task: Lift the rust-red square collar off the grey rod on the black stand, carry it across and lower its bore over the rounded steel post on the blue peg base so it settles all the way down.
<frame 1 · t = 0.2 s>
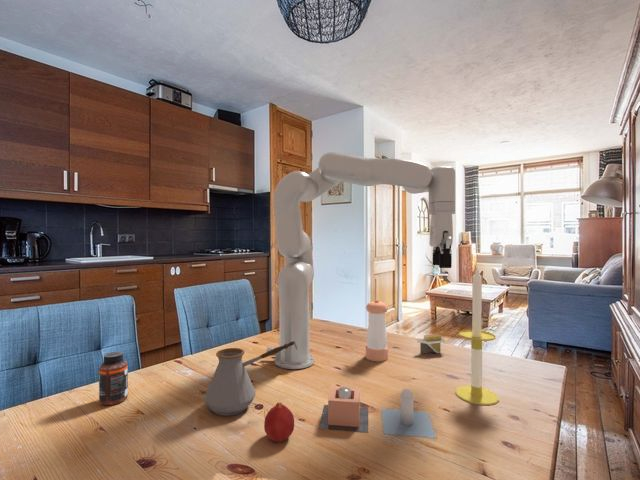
hand: (441, 266, 101), 31 cm above the table, tool pointing down, fingers open, 9 cm apart
coffee pot: (251, 407, 80), on the table
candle: (476, 396, 85), on the table
blue peg base: (406, 426, 71), on the table
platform: (432, 355, 117), on the table
salt shaker: (376, 358, 112), on the table
supplement bottle: (113, 401, 82), on the table
stand: (344, 422, 73), on the table
onion: (279, 443, 65), on the table
collar: (344, 417, 73), point 1 cm above the table, touching stand
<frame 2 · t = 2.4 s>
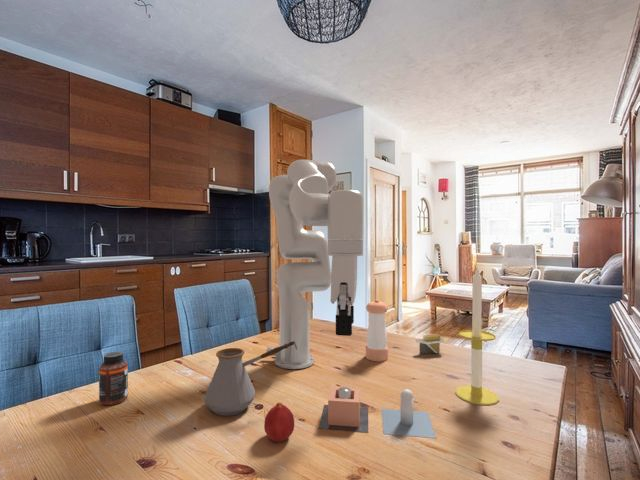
hand: (345, 328, 73), 20 cm above the table, tool pointing down, fingers open, 9 cm apart
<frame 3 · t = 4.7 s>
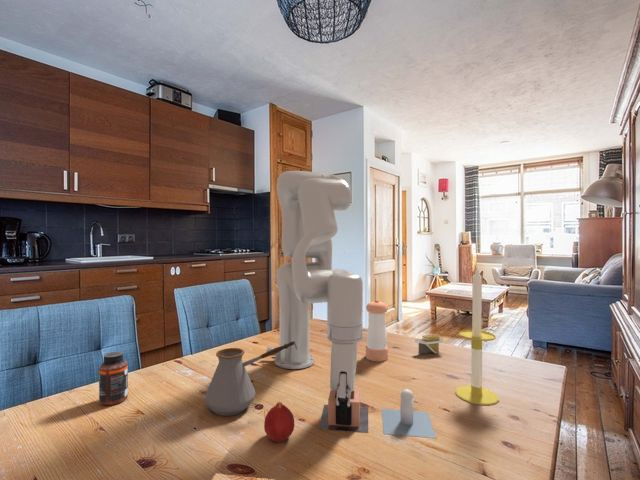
hand: (344, 414, 73), 2 cm above the table, tool pointing down, fingers closed on collar, 6 cm apart
collar: (344, 417, 73), point 1 cm above the table, touching gripper, stand
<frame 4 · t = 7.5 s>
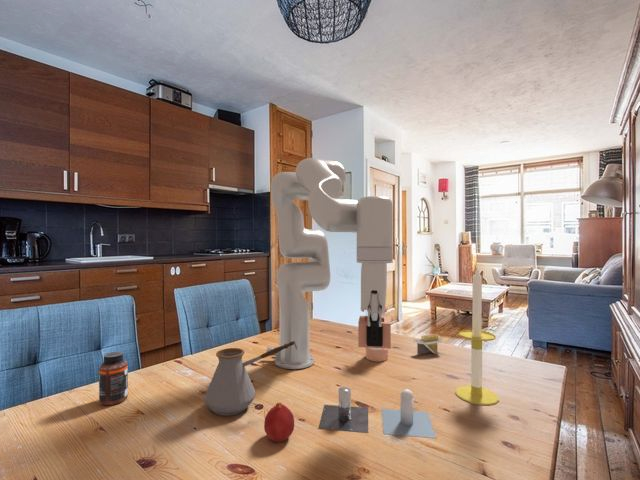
hand: (374, 339, 72), 18 cm above the table, tool pointing down, fingers closed on collar, 6 cm apart
collar: (374, 343, 72), point 17 cm above the table, touching gripper
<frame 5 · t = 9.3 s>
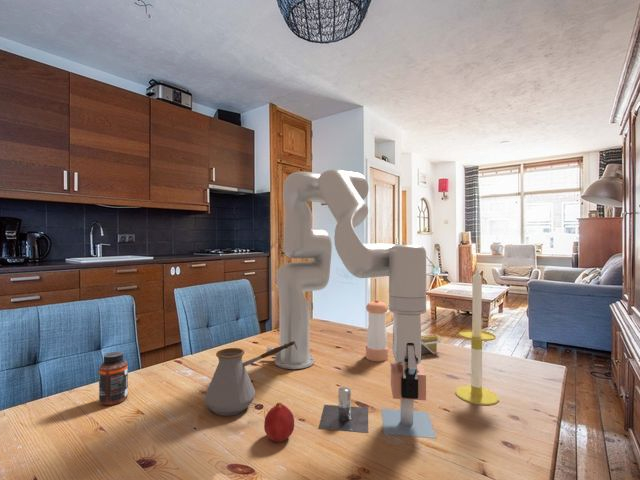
hand: (407, 389, 71), 8 cm above the table, tool pointing down, fingers closed on collar, 6 cm apart
collar: (407, 392, 71), point 7 cm above the table, touching gripper
when the fingers open (3 cm above the table, at t = 10.8 s): collar stays where it is, resting on blue peg base.
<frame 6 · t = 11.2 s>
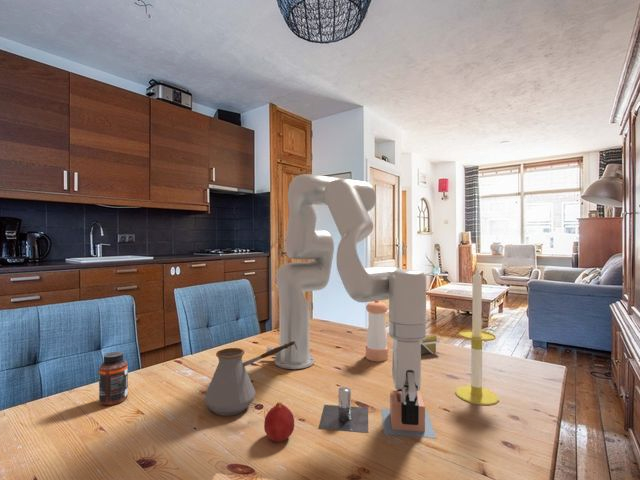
hand: (406, 411, 71), 3 cm above the table, tool pointing down, fingers open, 9 cm apart
collar: (406, 421, 71), point 1 cm above the table, touching blue peg base
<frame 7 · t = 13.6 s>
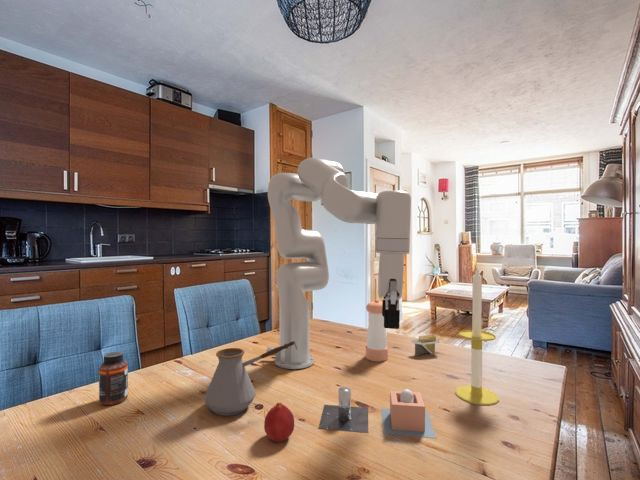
hand: (390, 322, 77), 20 cm above the table, tool pointing down, fingers open, 9 cm apart
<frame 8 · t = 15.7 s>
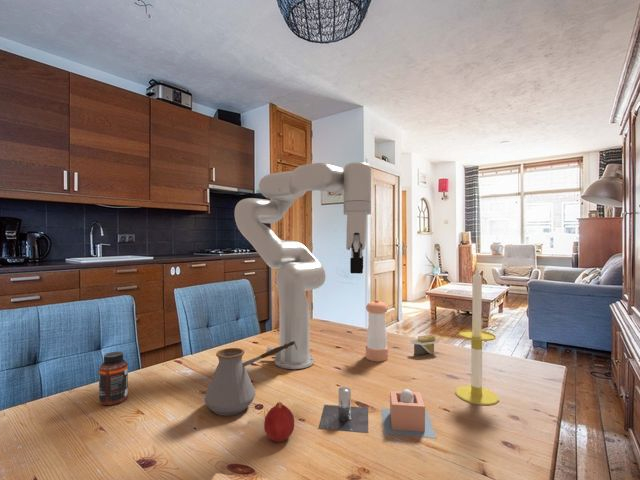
hand: (357, 271, 93), 30 cm above the table, tool pointing down, fingers open, 9 cm apart
at the end: collar 0.1 cm from the blue peg base (horizontally); collar point 1.0 cm above the table; the gripper is holding nothing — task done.
